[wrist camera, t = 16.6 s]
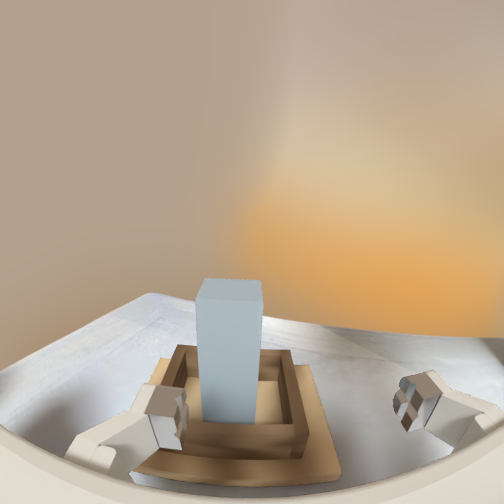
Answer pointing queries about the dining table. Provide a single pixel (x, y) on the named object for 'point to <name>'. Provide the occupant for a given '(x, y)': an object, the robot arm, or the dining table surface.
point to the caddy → (249, 430)
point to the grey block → (229, 348)
